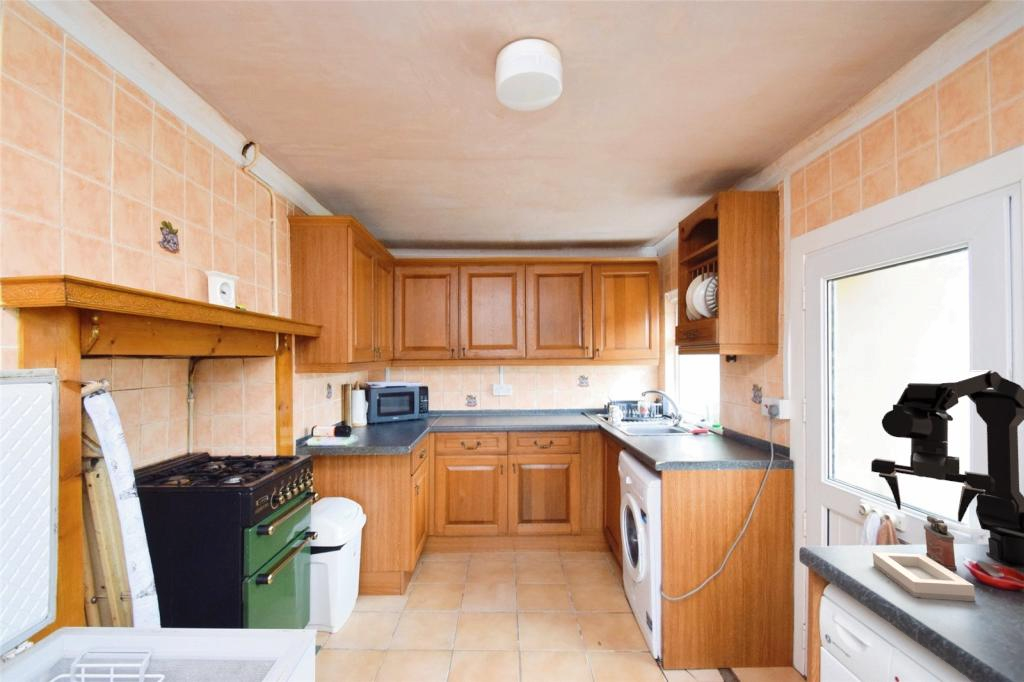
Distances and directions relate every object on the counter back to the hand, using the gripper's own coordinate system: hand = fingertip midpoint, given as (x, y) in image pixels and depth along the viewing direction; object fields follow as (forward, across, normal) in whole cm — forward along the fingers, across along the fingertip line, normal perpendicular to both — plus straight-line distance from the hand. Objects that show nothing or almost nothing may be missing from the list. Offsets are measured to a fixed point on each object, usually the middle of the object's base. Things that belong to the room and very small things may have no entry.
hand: (928, 515), depth 93 cm
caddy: (+14, -1, +2) cm, 14 cm away
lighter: (+12, +2, +15) cm, 20 cm away
